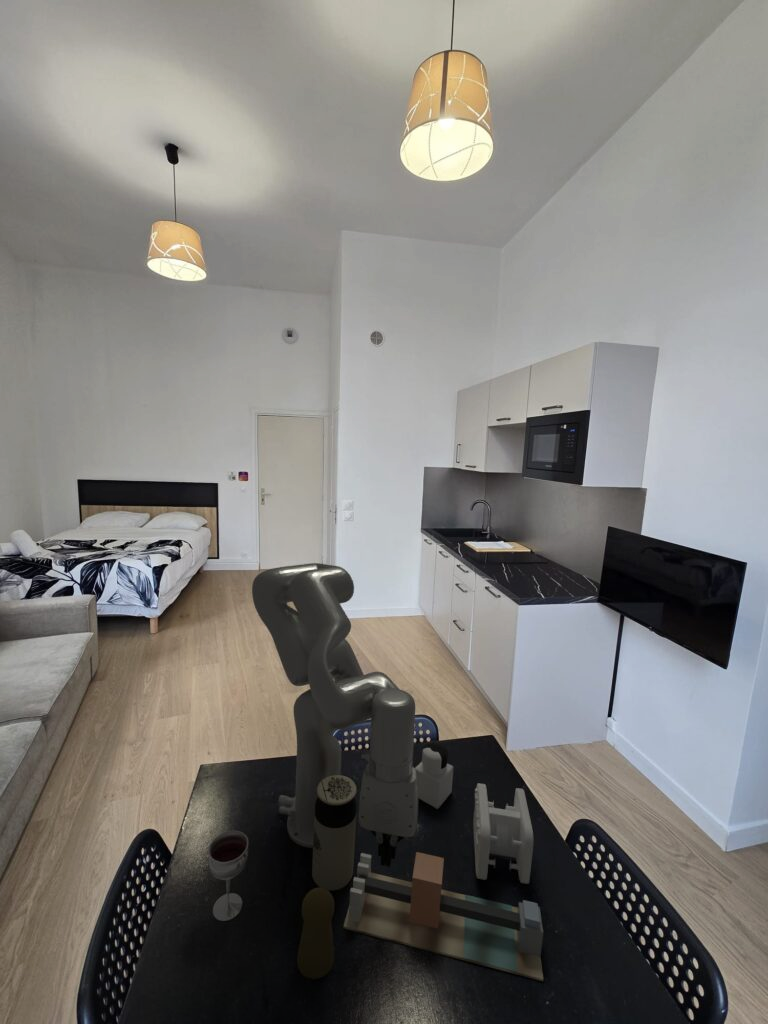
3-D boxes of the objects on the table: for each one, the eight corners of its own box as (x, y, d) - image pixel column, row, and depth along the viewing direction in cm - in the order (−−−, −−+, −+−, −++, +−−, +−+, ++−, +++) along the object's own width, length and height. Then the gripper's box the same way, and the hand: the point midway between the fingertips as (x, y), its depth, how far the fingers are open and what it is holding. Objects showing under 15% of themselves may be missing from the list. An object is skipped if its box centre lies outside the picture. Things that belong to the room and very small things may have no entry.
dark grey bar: (356, 890, 82) (357, 882, 82) (358, 882, 83) (359, 874, 83) (528, 933, 76) (529, 924, 76) (527, 923, 78) (528, 915, 78)
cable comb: (348, 921, 79) (349, 892, 78) (360, 878, 87) (361, 851, 86) (359, 924, 79) (360, 895, 78) (370, 880, 87) (371, 854, 86)
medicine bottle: (426, 779, 115) (430, 735, 114) (451, 792, 111) (455, 747, 109) (411, 795, 109) (415, 749, 108) (437, 810, 105) (441, 762, 104)
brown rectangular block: (409, 921, 78) (412, 877, 77) (413, 893, 84) (416, 851, 82) (437, 928, 78) (441, 884, 76) (440, 900, 83) (443, 858, 81)
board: (343, 928, 78) (343, 925, 78) (359, 871, 89) (359, 869, 89) (543, 981, 72) (543, 978, 72) (534, 913, 82) (534, 911, 82)
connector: (518, 953, 75) (521, 920, 75) (516, 926, 80) (519, 895, 79) (540, 959, 75) (544, 926, 74) (536, 932, 79) (540, 900, 78)
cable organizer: (530, 896, 86) (536, 841, 84) (473, 886, 87) (478, 831, 86) (518, 832, 100) (523, 784, 99) (470, 824, 102) (474, 777, 100)
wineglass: (204, 929, 76) (204, 866, 75) (210, 891, 83) (210, 832, 81) (246, 922, 78) (247, 860, 76) (248, 885, 84) (250, 827, 83)
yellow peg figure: (301, 986, 69) (304, 923, 68) (293, 946, 75) (295, 887, 73) (339, 970, 72) (342, 909, 70) (328, 932, 77) (331, 875, 76)
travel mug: (350, 852, 93) (355, 772, 90) (355, 889, 85) (360, 802, 83) (311, 856, 91) (315, 775, 89) (312, 894, 83) (316, 806, 81)
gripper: (343, 769, 76) (340, 868, 78) (432, 785, 73) (426, 887, 75) (355, 743, 84) (351, 834, 85) (435, 756, 81) (430, 850, 83)
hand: (386, 859), depth 80 cm, fingers closed
